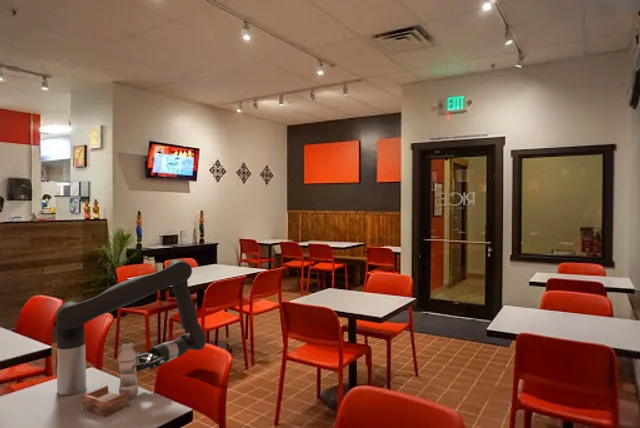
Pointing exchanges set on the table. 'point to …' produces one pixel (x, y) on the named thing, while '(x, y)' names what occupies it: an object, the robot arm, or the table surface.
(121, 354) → the plastic bottle
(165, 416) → the table surface
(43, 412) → the table surface
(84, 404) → the dock
